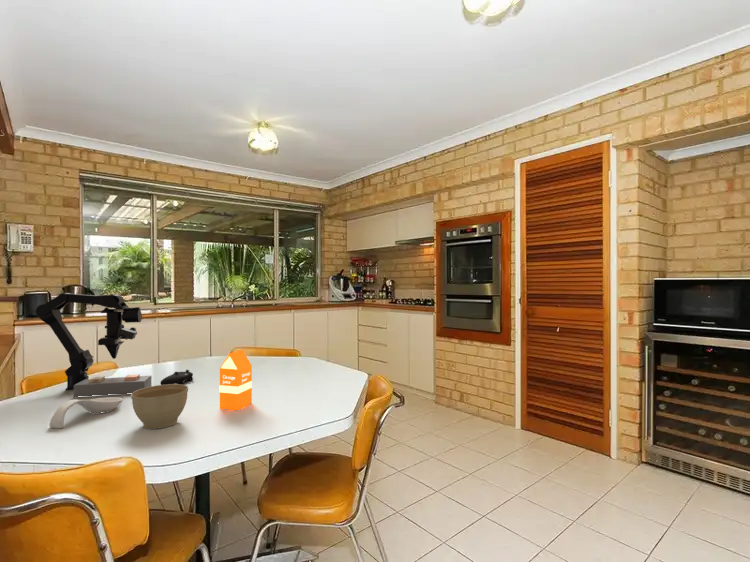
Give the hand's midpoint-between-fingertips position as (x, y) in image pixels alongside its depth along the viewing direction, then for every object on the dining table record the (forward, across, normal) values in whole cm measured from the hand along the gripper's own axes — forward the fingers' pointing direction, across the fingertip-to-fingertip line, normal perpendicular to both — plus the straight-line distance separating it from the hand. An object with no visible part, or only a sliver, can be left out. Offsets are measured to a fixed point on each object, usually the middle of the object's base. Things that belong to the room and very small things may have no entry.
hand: (114, 358), depth 176 cm
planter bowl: (+12, -58, -32) cm, 67 cm away
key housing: (+12, -12, -4) cm, 17 cm away
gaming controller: (+13, -1, -26) cm, 29 cm away
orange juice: (+12, -45, -54) cm, 71 cm away
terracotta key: (+10, -12, -10) cm, 19 cm away
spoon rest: (+12, -43, -6) cm, 45 cm away
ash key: (+10, -12, +2) cm, 16 cm away
